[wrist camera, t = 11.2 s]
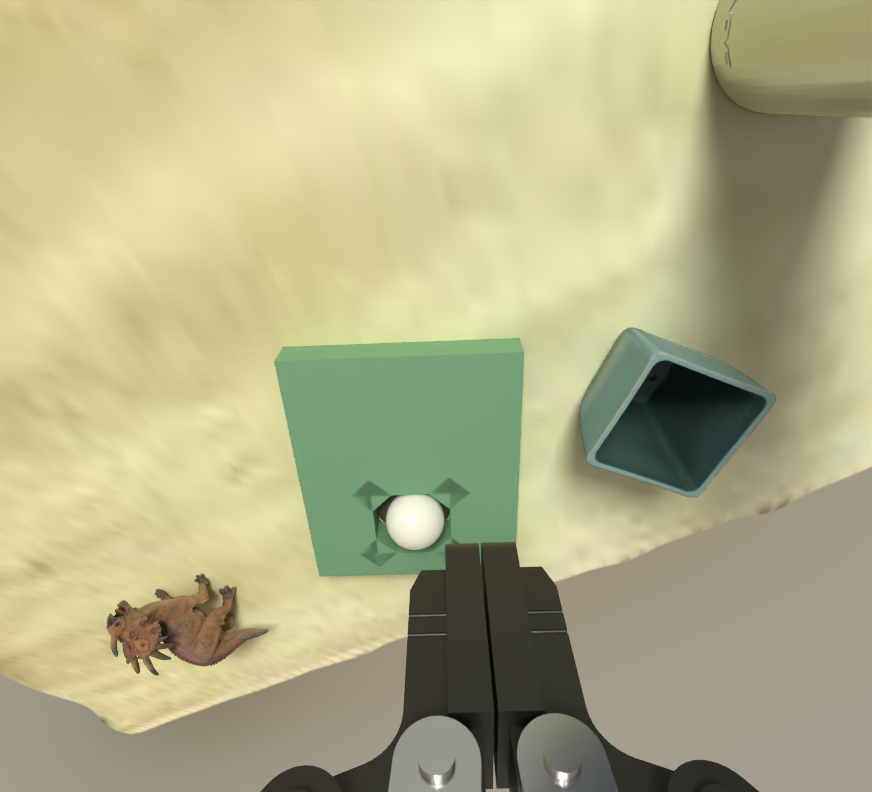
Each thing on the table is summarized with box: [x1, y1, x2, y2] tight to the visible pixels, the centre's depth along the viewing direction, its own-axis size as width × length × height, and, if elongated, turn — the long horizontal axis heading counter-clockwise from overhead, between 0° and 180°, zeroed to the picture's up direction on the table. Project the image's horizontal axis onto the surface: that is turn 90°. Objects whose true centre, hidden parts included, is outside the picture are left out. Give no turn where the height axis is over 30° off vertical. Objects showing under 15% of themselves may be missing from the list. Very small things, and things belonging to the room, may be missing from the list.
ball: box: [386, 494, 444, 550], centre depth 45 cm, size 5×5×5 cm
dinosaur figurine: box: [107, 574, 268, 675], centre depth 50 cm, size 14×6×9 cm, turn 55°
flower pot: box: [580, 328, 776, 497], centre depth 38 cm, size 9×9×9 cm
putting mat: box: [274, 338, 524, 577], centre depth 45 cm, size 18×22×2 cm
